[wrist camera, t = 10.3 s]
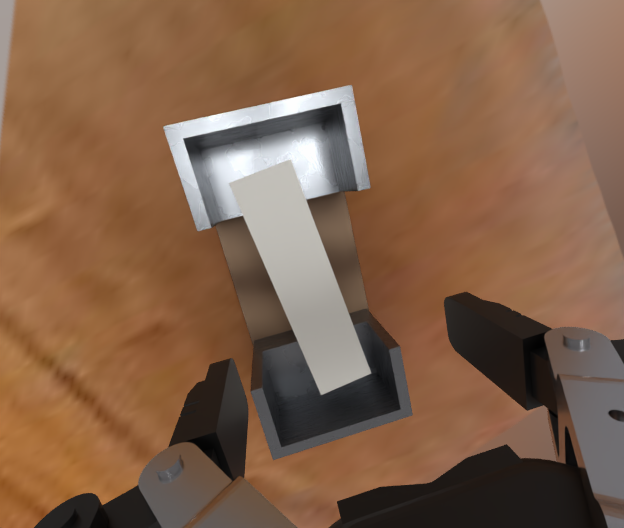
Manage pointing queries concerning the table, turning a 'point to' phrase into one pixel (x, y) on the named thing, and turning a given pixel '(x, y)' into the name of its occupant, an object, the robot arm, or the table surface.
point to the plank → (256, 281)
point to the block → (301, 274)
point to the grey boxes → (314, 182)
